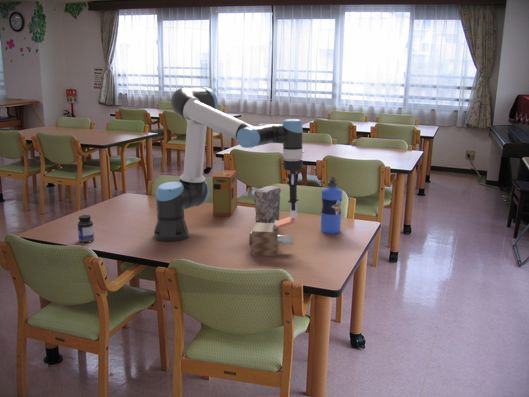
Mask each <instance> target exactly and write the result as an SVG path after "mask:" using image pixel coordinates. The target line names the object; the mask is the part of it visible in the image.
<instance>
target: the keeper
mask: <svg viewBox="0 0 529 397" xmlns="http://www.w3.org/2000/svg"><path fill="white" fill-rule="evenodd" d="M295 220H296V218H290V216H287V217H285V218H282V219H279V220H278V221H277V220H275V221H274V225H273V230H276V229H278V228H279V229H280V228H284V227H286V226H289V225H292V224H295Z"/></svg>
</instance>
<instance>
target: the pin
mask: <svg viewBox="0 0 529 397" xmlns="http://www.w3.org/2000/svg"><path fill="white" fill-rule="evenodd" d="M293 239H294V238H293V235H288V234H279V235H277V244H279V245H293V241H294V240H293ZM248 241H249V242H248V243H249V244H248V245H249V246H250V247H252V230H250V231H249V240H248Z"/></svg>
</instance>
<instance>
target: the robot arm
mask: <svg viewBox="0 0 529 397" xmlns="http://www.w3.org/2000/svg"><path fill="white" fill-rule="evenodd" d="M218 102H219V101H218V98H217V95H216V93H215V92H214V90H212V88H210V87H206V86H192V87H191V86H190V87H181V88H178V89H176V90H175V91H174V92H173V93H172V95H171V97H170V107H171V109H172V111H173V113H175V114H176V115H177V116H179V117H181V118H182V119H185V120H186V121H187V122H186V137H185V149H184V161H183V172H182V174H181V175H180V176H179V181H169V182H164V183H163V182H162V183H161V184H160V185H158V186H157V187H156V195H155V198H156V199H155V200H156V201H155V202H156V215H157V217H156V218H157V219H156V223H155V228H154V229H153V237H154V239H155V238H156V240H157V241H161V242H162V241H163V242H176V241H182V240H185V239H187V238H188V237H189V236H190V234H189V227H188V225H187V223H186V220H185V210H187V209H191V208H194V207H198V206H201V205H202V204H204V203H206V202H207V200H208V199H209V197H210V186H208V182H207V181H206V177H205V176H204V164H205V163H204V162H205V154H206V153H205V151H206V140H207V128H210V129H212V130H215V131H216V132H219V133H221V134H222V135H224V136H227V137H229V138H232V139H233V140H236V141H237V143H238V144H239V146H240V147H241V148H246V149H247V148H250V149H251V148H255V147H259V146H263V145H269V144H282V146H283V147H282V158H283V159H284V160H283V170H284V171H289V172H288V174H287V179H288V187H289V200H288V201H287V202H288V203H289V217H290V218H295V219H298V201H299V199H298V194H297V192H298V184H299V183H298V179H299V173H297V171H301V170H303V165H304V164H303V154H305V150H303V132H304V131H303V122H302V120H301V119H297V118H287V119H284V120H283V121H282V123H281V124H279V123H269V122H267V123H259V124H258V125H252V124H249V123H247V122H245V121H244V120H240V119H238V118H236V117H234V116H232V115H229V114H228V113H226V112H222V111H221V110H218V109H217V108H218V105H219V104H218Z"/></svg>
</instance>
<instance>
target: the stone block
mask: <svg viewBox="0 0 529 397" xmlns="http://www.w3.org/2000/svg"><path fill="white" fill-rule="evenodd" d="M253 199H254V210H255V216H254V217H255V223H274V221H275V220H277V221H278V220H280V208H281V206H280V205H281V201H280V200H281V187H279V186H275V185H267V186H264V187H261V188H258V189H256V190H254V198H253Z"/></svg>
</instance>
